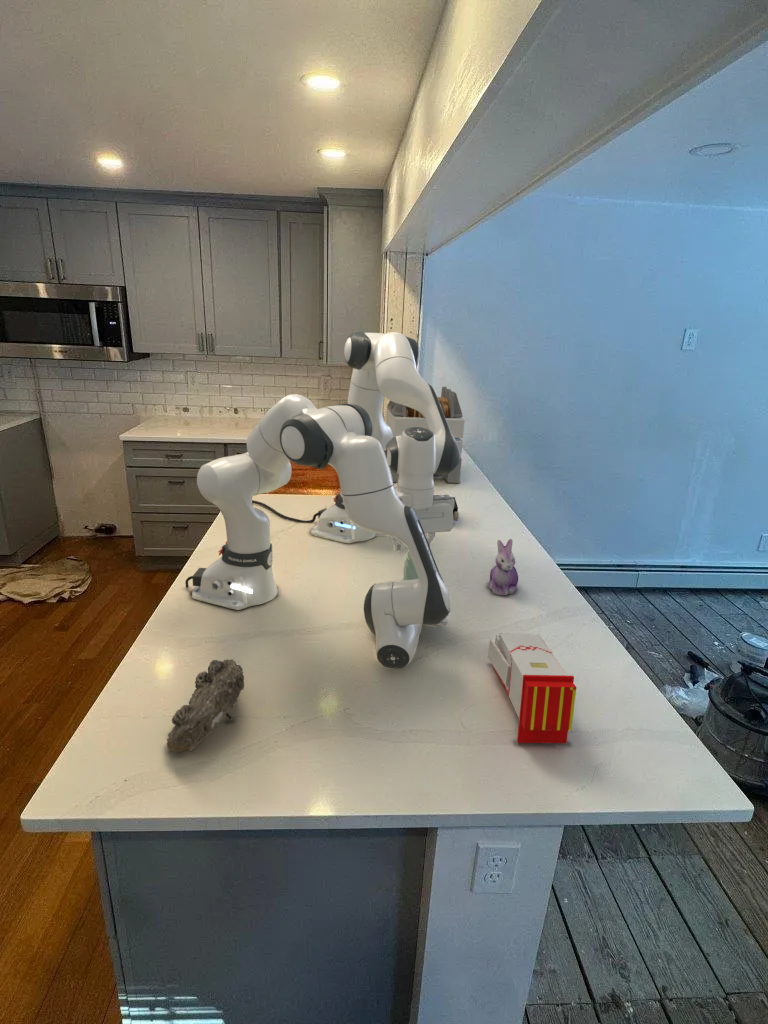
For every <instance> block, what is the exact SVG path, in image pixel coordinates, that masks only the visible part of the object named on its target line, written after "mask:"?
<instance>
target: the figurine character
mask: <svg viewBox="0 0 768 1024" xmlns="http://www.w3.org/2000/svg"><path fill="white" fill-rule="evenodd" d="M452 497H453V499H454V501H455V503H454V509H453V525H455V523H454V522H458V520H459V512H458V511H459V507H458V503H457V500H456V496H452ZM449 499H451V498H449Z"/></svg>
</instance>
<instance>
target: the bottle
mask: <svg viewBox="0 0 768 1024" xmlns="http://www.w3.org/2000/svg"><path fill="white" fill-rule="evenodd" d="M418 578H419V576H418V574H417V571H416V568H415V566H414V563H413V560H412V558H411V555H410V553H409V551H408V552H407V554H406V556H405V558H404V563H403V577H402V581H405V580H414V579H418Z"/></svg>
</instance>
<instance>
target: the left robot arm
mask: <svg viewBox="0 0 768 1024" xmlns="http://www.w3.org/2000/svg"><path fill="white" fill-rule="evenodd" d="M372 431H373V426H372V421H371V418H370V416H369V414H368V413H367V411H366V410H365V409H363V408H362V407H360V406H358V405H354V404H348V403H339V404H333V405H328V406H322V407H320V408H317V407H316V406H315V404H314V403H313V402H312V401H311V400H310V399H309V398H307V397H306V396H304V395H301V394H297V393H292V394H291V393H290V394H288V395H285V396H284V397H282V398H281V399H279V400H278V401H276V403H275V404H273V406H272V407H270V408H269V410H267V412H266V413H265V414H264V415H263V416H262V417H261V419H260V420H259V421H258V422H257V423H256V425H255V427H253V429H252V430H251V432H250V433H249V434H248V435H247V438H246V452H244V453H240V454H234V455H227V456H224V457H219V458H215V459H214V460H211V461H209V462H207V463H204V464H203V465H201V466H200V467H199V469H198V471H197V474H196V485H197V486H196V487H197V489H198V492H199V493H200V494H201V496H202V497H203V498H204V499H205V500H206V501H207V502H209V503H211V504H213V505H214V506H215V507H216V508H217V509H218V510H219V512H220V513H221V515H222V517H223V519H224V524H225V532H226V541H225V544H223V545H222V546H221V548H220V549H219V550H218V556H221V557H219V558H218V559H217V560H215V561H214V562H212V563H211V564H210V565H208V566H207V567H198V569H197V570H196V571H195V573H194V574H193V575H190V576H188V577H187V578H186V579H185V583H184V584H185V588H187V589H188V588H189V581H190V580H192V586H193V587H194V588H193V589H192V593H191V597H192V599H193V600H196V601H201V602H205V603H208V604H211V605H212V604H213V605H216V606H220V607H222V608H223V607H224V608H228V609H232V610H235V611H240V610H243V609H246V608H248V607H253V606H258V605H262V604H266V603H268V602H271V601H272V600H273V599H275V598H276V597H277V595H278V593H279V590H278V587H277V584H276V581H275V577H274V572H273V562H274V556H273V555H274V553H273V545H272V543H271V521H270V518H269V516H268V515H267V513H265V512H264V511H263V510H261V509H260V508H257V507H254V503H252V500H253V497H255V496H259V495H262V494H267V493H270V492H274V491H276V490H278V489H280V488H282V487H284V486H285V485H287V484H289V482H290V480H291V477H292V473H293V470H292V464H291V462H292V463H294V464H296V465H298V466H305V467H312V468H315V469H319V470H324V469H325V468H326V467H327V465H329V466H331V467H332V468H333V470H334V471H335V472H336V474H337V478H338V481H339V482H338V483H339V487H340V488H341V493H342V498H343V502H344V506H345V510H346V512H347V515H348V517H349V518H350V519H351V521H352V522H353V523H355V524H356V525H357V526H359V527H361V528H363V529H365V530H367V531H370V532H374V533H379V534H384V535H387V536H386V537H390V536H391V537H393V538H396V539H395V540H398V541H399V542H400V543H403V545H405V547H406V549H407V548H408V549H407V550H408V552H409V553H410V555H411V558H412V560H413V563H414V566H415V568H416V571H417V574H418V576H419V578H418V579H414V580H405V581H403V580H398V581H396V580H393V581H384V582H378V583H373V584H372V585H371V586H370V588H369V589H368V591H367V592H366V595H365V597H364V601H363V615H364V620H365V623H366V625H367V627H368V629H369V630H370V632H371V633H372V634H373V635H374V636H375V657H376V660H377V661H378V663H379V665H382V666H383V667H385V668H387V669H391V670H399V669H400V670H401V669H404V668H406V667H407V666H408V665H410V664H411V662H412V660H413V659H414V657H415V655H416V651H417V648H418V644H419V639H420V638H419V637H420V636H421V632H422V628H423V626H430V627H435V628H436V627H438V628H440V627H442V626H447V625H448V624H449V622H450V618H449V614H450V612H451V596H450V592H449V590H448V587H447V586H446V584H445V581H444V579H443V577H442V575H441V573H440V571H439V567H438V566H437V563H436V560H435V557H434V554H433V552H432V549H431V545H430V546H429V544H428V541H427V536H426V533H424V531H423V528H422V526H421V523H420V521H419V519H418V517H417V515H416V513H415V511H414V510H413V509H412V508H411V507H408V506H405V505H404V504H403V502H402V501H401V500H400V499H399V497H398V495H397V493H396V491H395V488H394V487H395V485H394V482H393V479H392V475H391V471H390V467H389V464H388V461H387V458H386V455H385V453H384V450H383V448H382V445H381V443H380V442H379V441H378V440H377V439H375V438H373V437H371V436H372ZM340 488H339V489H340Z"/></svg>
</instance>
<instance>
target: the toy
mask: <svg viewBox="0 0 768 1024" xmlns="http://www.w3.org/2000/svg"><path fill="white" fill-rule="evenodd" d="M487 659H488V661H489V662H490V663H491V666H492V668H493V670H494V671H495V673H496V676H497V678H498V679H499V681H500V682H501V685H502V686H503V689H504V690H505V692H506V694H507V695H508V698H509V700H510V702H511V705H512V706H513V708H514V711H515V713H516V715H517V717H518V728H517V741H516V742H517V743H518V744H567V743H568V734H569V732H570V731H573V720H574V711H575V704H576V696H577V695H576V694H577V686H576V685H575V683H574V681H575V676H574V675H569V674H568V673H567V671H566V670H565V669H564V667H563V666H562V664H560V662H559V661H558V659H557V657H556V656H555V655H554V653H553V651H552V650H551V649H550V648H549V646H548V644H547V643H546V641H545V639H543V638H542V636H541V635H540V633H503V632H501V633H499V634H496V635H495V639H494V640H493V639H489V644H488V652H487Z"/></svg>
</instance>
